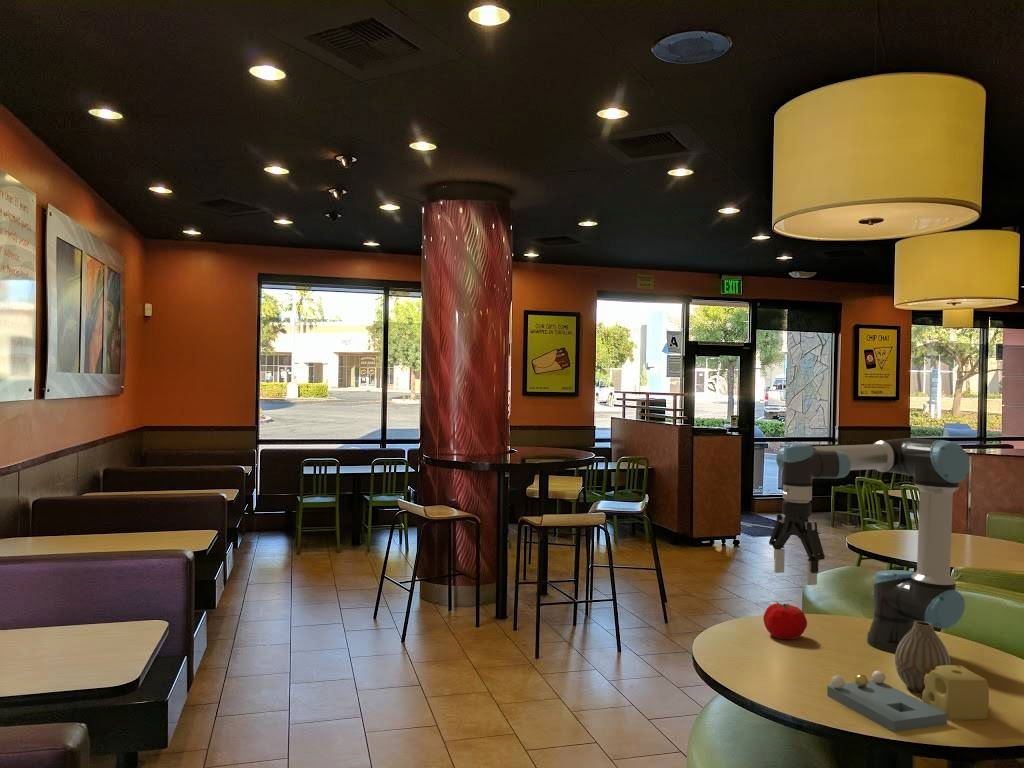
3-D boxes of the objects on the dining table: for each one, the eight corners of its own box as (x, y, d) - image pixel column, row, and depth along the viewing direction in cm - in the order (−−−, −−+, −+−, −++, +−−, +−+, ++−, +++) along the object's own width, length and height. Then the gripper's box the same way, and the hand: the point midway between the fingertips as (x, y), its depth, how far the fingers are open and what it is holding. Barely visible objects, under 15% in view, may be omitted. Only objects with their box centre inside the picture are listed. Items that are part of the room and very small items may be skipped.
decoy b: (838, 685, 204) (838, 672, 204) (847, 689, 201) (847, 677, 201) (828, 686, 203) (828, 674, 203) (837, 691, 200) (837, 678, 200)
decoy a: (878, 680, 208) (878, 668, 208) (888, 684, 205) (888, 672, 205) (868, 681, 207) (869, 669, 207) (878, 686, 204) (878, 673, 204)
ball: (861, 684, 205) (861, 671, 205) (870, 688, 202) (871, 676, 202) (851, 685, 204) (851, 673, 204) (860, 690, 201) (860, 677, 201)
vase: (956, 689, 209) (958, 623, 209) (941, 703, 200) (942, 634, 200) (904, 675, 218) (905, 612, 218) (886, 688, 209) (888, 622, 209)
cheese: (921, 703, 199) (922, 664, 199) (961, 703, 200) (962, 664, 200) (947, 721, 189) (948, 680, 189) (990, 721, 190) (991, 679, 190)
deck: (877, 689, 208) (877, 679, 208) (947, 724, 187) (947, 713, 187) (827, 695, 203) (827, 685, 203) (893, 732, 182) (893, 721, 182)
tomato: (755, 635, 251) (756, 602, 251) (775, 628, 259) (775, 595, 259) (794, 646, 241) (795, 611, 241) (814, 638, 249) (814, 604, 249)
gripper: (757, 494, 226) (755, 568, 226) (816, 508, 202) (814, 591, 202) (779, 493, 228) (777, 567, 228) (840, 507, 204) (838, 589, 204)
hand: (795, 578), depth 215 cm, fingers open, 13 cm apart
